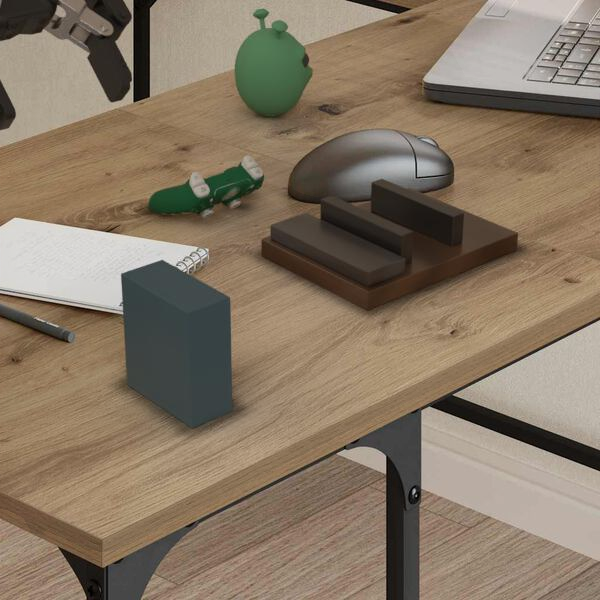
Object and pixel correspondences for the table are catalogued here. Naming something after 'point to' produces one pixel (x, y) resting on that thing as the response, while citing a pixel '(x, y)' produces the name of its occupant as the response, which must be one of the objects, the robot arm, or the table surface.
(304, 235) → the brown wooden stand
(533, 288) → the table surface
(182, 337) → the back pad
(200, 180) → the gaming controller
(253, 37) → the alien toy
